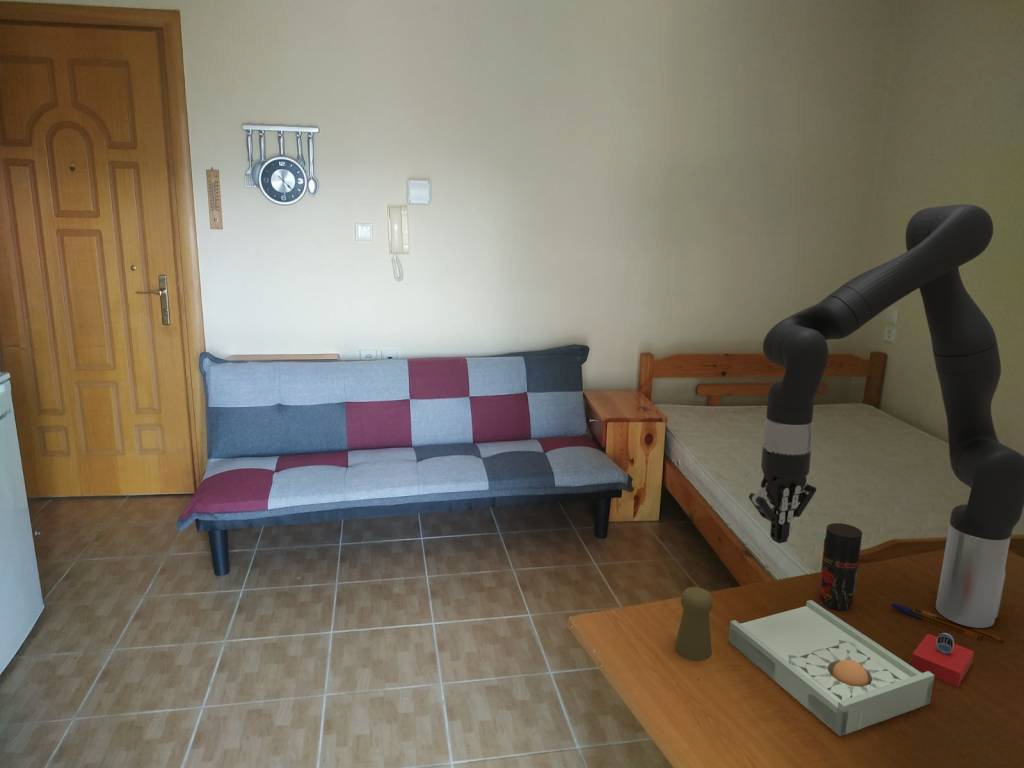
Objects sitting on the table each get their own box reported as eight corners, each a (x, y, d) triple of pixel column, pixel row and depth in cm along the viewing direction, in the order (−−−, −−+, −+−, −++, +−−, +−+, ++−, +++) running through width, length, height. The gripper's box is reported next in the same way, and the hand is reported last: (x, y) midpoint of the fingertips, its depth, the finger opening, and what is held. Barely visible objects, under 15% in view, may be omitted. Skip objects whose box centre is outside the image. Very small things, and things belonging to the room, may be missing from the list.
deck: (808, 619, 126) (811, 594, 125) (930, 704, 105) (935, 675, 103) (728, 641, 120) (730, 616, 118) (840, 737, 98) (844, 707, 97)
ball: (876, 695, 106) (851, 677, 110) (875, 666, 105) (850, 649, 109) (849, 705, 104) (825, 686, 109) (848, 676, 103) (824, 658, 108)
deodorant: (856, 612, 128) (866, 538, 125) (821, 609, 130) (831, 535, 126) (847, 596, 134) (857, 524, 130) (815, 592, 135) (823, 521, 132)
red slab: (925, 648, 119) (930, 615, 117) (971, 666, 114) (977, 632, 112) (909, 668, 113) (915, 634, 112) (957, 689, 108) (964, 653, 107)
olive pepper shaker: (714, 644, 119) (719, 586, 116) (708, 664, 114) (713, 604, 111) (679, 635, 121) (682, 579, 119) (671, 654, 116) (675, 596, 114)
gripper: (800, 433, 120) (792, 525, 125) (739, 444, 115) (733, 539, 120) (835, 446, 114) (825, 542, 118) (771, 458, 109) (764, 558, 113)
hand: (779, 540), depth 119 cm, fingers closed
